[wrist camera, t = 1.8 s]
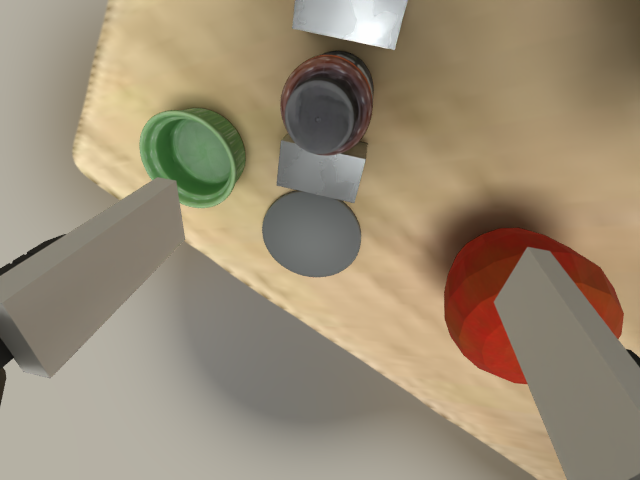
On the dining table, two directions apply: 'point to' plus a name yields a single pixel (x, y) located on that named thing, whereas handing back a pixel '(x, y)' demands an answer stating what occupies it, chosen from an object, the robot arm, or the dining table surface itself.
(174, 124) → the ramekin
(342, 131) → the supplement bottle
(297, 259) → the coaster
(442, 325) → the dining table surface
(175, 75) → the dining table surface
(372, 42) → the vise
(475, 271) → the apple
